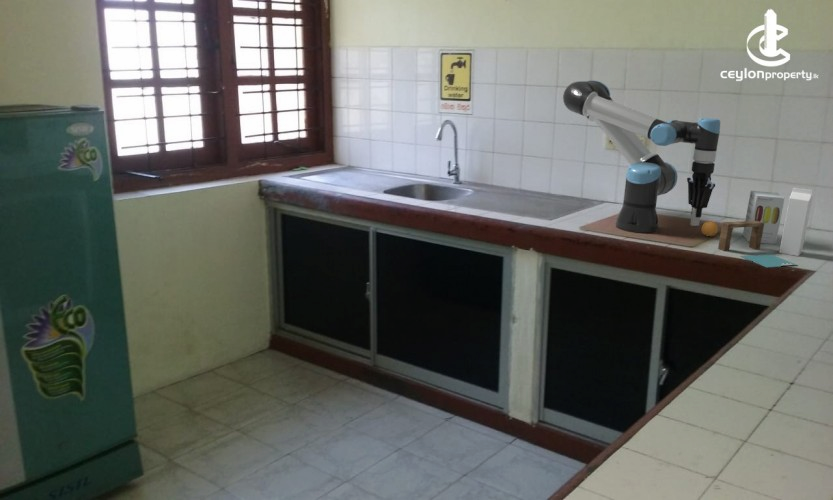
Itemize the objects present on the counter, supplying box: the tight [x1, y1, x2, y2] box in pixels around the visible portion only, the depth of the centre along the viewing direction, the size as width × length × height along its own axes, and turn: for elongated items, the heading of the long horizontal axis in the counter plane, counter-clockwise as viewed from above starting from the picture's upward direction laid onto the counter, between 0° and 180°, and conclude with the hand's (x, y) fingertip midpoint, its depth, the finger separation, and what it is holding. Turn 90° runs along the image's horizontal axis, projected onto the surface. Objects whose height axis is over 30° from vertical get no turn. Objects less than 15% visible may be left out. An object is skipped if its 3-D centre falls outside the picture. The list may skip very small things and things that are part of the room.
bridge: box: [717, 220, 764, 252], centre depth 252 cm, size 14×3×9 cm, turn 107°
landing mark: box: [740, 253, 797, 268], centre depth 241 cm, size 12×12×1 cm
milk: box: [778, 187, 813, 257], centre depth 248 cm, size 6×6×22 cm
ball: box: [700, 220, 719, 237], centre depth 267 cm, size 6×6×6 cm
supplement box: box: [742, 190, 785, 245], centre depth 264 cm, size 10×9×17 cm
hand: (694, 225), depth 275 cm, fingers closed
